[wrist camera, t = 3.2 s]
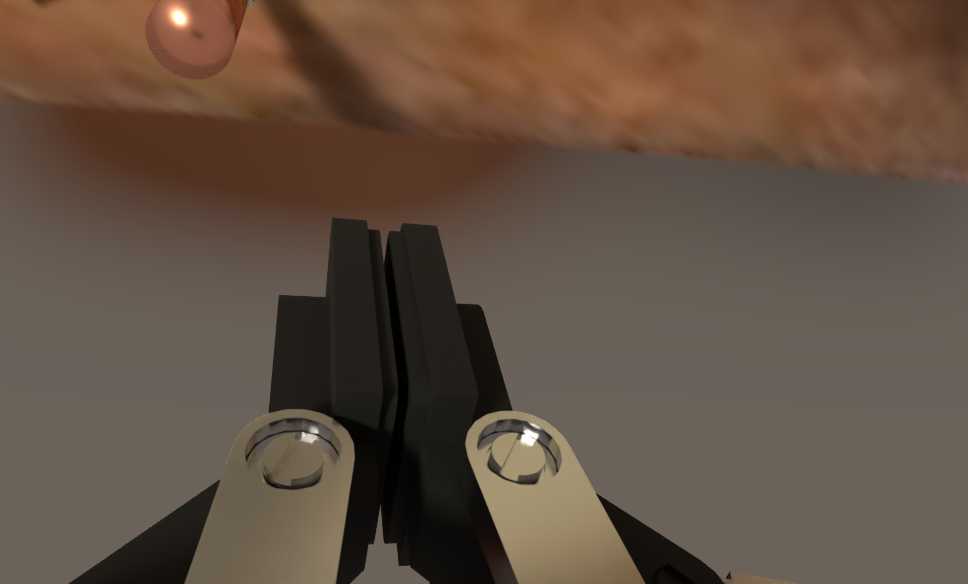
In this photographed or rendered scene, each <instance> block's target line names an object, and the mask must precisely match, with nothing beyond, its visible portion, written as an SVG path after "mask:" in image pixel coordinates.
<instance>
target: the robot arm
mask: <svg viewBox="0 0 968 584" xmlns="http://www.w3.org/2000/svg"><path fill="white" fill-rule="evenodd" d="M380 504H381V514H382V527H383V539H384V543H385V544H389V543H397V552H398V562H399V566H408V565H410V566H411V568H412V569H414V570H415V571H416V572H417V573H419V574H420V575H421V576H423V577H424V578H425V579H426V580H428V581H429V582H430V583H429V584H800V583H793V582H788V581H783V580H777V579H771V578H766V577H759V576H754V575H748V574H743V573H737V572H731V571H730V572H729V573H728V575H727V576H726V578H725V579H724V578H720V577H719V576H718V575H717V574H716V572H714V571H713V570H712V569H711V568H709V567H708V566H707V565H706V564H704V563H703V562H702V561H701V560H699V559H698V558H696V557H694V556H693V555H691V554H690V553H688V552H687V551H685V550H684V549H682V548H681V547H679V546H678V545H676V544H674V543H673V542H671V541H670V540H668V539H667V538H665V537H663V536H662V535H660V534H659V533H657V532H656V531H654V530H653V529H651V528H649V527H648V526H646V525H645V524H643V523H642V522H640V521H639V520H637V519H635V518H634V517H632V516H631V515H629V514H627V513H626V512H624V511H623V510H621V509H620V508H618V507H617V506H615V505H614V504H612V503H610V502H609V501H607V500H606V499H604V498H603V497H601V496H599V495H598V494H596V493H595V491H594V490H593V488H592V486H591V484H590V482H589V480H588V479H587V477H586V475H585V473H584V472H583V469H582V468H581V466H580V464H579V462H578V460H577V459H576V457H575V455H574V453H573V451H572V450H571V448H570V446H569V444H568V443H567V441H566V440H565V439H564V437H563V436H562V435H561V433H560V432H559V431H558V430H556V429H555V428H554V427H553V426H551V425H550V424H549V423H548V422H546V421H544V420H542V419H540V418H537V417H535V416H533V415H530V414H526V413H522V412H518V411H513V410H512V407H511V403H510V400H509V397H508V393H507V390H506V387H505V383H504V380H503V376H502V373H501V370H500V366H499V363H498V360H497V356H496V353H495V349H494V346H493V342H492V339H491V336H490V332H489V329H488V326H487V322H486V319H485V315H484V312H483V310H482V308H481V307H480V306H479V305H473V304H456V301H455V297H454V293H453V289H452V285H451V281H450V277H449V273H448V269H447V265H446V261H445V257H444V253H443V249H442V245H441V241H440V237H439V233H438V229H437V227H436V226H432V225H420V224H407V223H403V224H402V226H401V230H400V232H397V231H389V234H388V239H387V246H386V254H385V261H384V262H383V254H382V246H381V238H380V231H379V230H370V229H368V226H367V221H366V220H355V219H342V218H332V224H331V235H330V248H329V260H328V272H327V285H326V297H309V296H289V295H279V301H278V313H277V324H276V336H275V347H274V359H273V371H272V382H271V393H270V404H269V413H268V414H266V415H264V416H262V417H260V418H258V419H256V420H254V421H252V422H251V423H250V424H249V425H248V426H246V427H245V428H244V429H243V430H242V431H241V432H240V433H239V435H238V437H237V438H236V440H235V442H234V444H233V446H232V448H231V451H230V454H229V457H228V460H227V463H226V465H225V468H224V471H223V474H222V478H221V479H220V480H218V481H217V482H216V483H214V484H213V485H211V486H210V487H208V488H207V489H206V490H204V491H203V492H201V493H200V494H198V495H197V496H195V497H194V498H192V499H191V500H189V501H188V502H187V503H185V504H184V505H182V506H181V507H179V508H178V509H176V510H175V511H174V512H172V513H171V514H169V515H168V516H166V517H165V518H164V519H162V520H161V521H159V522H158V523H156V524H155V525H153V526H152V527H150V528H149V529H148V530H146V531H145V532H143V533H142V534H140V535H139V536H137V537H136V538H135V539H133V540H131V541H130V542H129V543H127V544H126V545H124V546H123V547H121V548H120V549H118V550H117V551H115V552H114V553H113V554H111V555H110V556H108V557H107V558H106V559H104V560H102V561H101V562H100V563H98V564H97V565H95V566H94V567H92V568H91V569H89V570H88V571H86V572H85V573H84V574H82V575H81V576H79V577H78V578H76V579H75V580H73V581H72V582H71V583H69V584H350V583H351V582H352V581H353V580H354V579H355V578H356V577H357V576H358V575H359V574H360V573H361V572H362V571H363V570H364V568H365V562H366V555H367V549H368V544H373V543H374V540H375V534H376V528H377V522H378V516H379V510H380Z"/></svg>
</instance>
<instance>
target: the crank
mask: <svg viewBox="0 0 968 584" xmlns="http://www.w3.org/2000/svg"><path fill="white" fill-rule="evenodd" d="M253 3H254V0H159V1H158V2H157V4H156V5H155V6H154V8H153V9H152V11H151V12H150V14H149V16H148V19H147V22H146V39H147V43H148V45H149V48H150V50H151V52H152V54H153V55H154V56H155V58H156V59H157V60H158V61H159V63H161V64H162V65H163V66H164V67H165V68H166V69H168V70H169V71H171V72H173V73H174V74H177V75H179V76H182V77H185V78H189V79H205V78H209V77H212V76H214V75H216V74H218V73H219V72H221V71H222V70H223V69H224V68H225V67H226V65H227V64H228V62H229V60H230V58H231V55H232V52H233V49H234V46H235V43H236V40H237V37H238V33H239V30H240V27H241V24H242V21H243V18H244V14H245V11H246V8H247V6H249V5H251V4H253Z"/></svg>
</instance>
